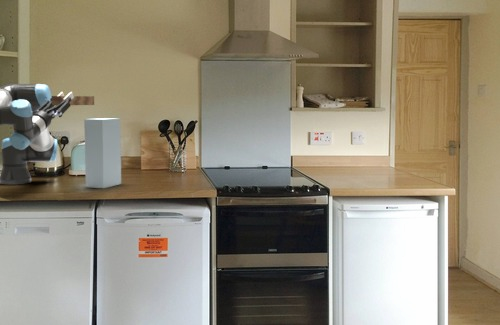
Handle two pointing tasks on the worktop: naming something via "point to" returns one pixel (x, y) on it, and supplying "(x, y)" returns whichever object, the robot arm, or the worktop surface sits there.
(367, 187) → the worktop surface
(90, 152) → the stand
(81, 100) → the rod
